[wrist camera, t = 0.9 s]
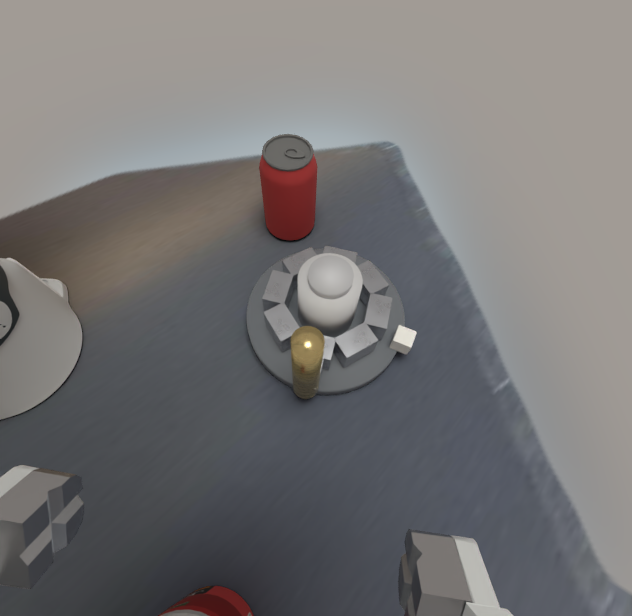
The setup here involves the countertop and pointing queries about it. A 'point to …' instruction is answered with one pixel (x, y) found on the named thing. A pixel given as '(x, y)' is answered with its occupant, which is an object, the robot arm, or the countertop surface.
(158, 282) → the countertop surface
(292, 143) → the beer can
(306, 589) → the countertop surface
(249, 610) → the canned food
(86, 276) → the countertop surface
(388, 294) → the flange base
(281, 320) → the gear with peg
